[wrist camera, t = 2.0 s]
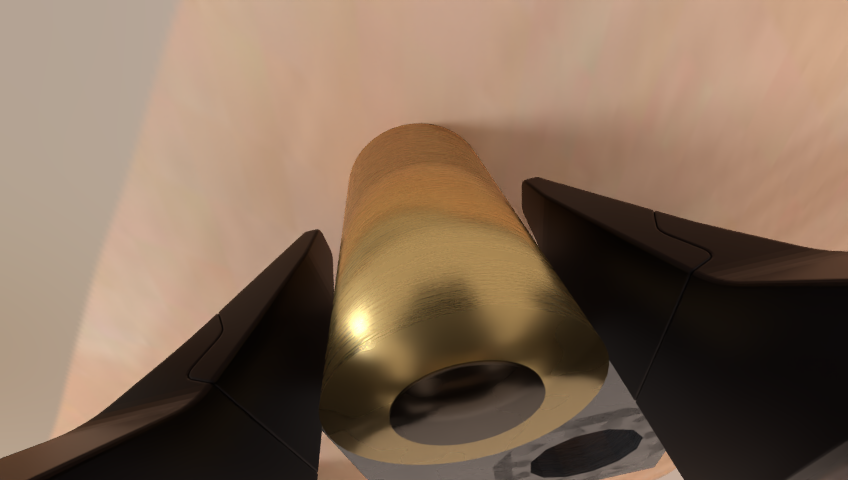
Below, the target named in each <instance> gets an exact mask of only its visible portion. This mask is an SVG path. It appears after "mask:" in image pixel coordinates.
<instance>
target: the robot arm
mask: <svg viewBox="0 0 848 480" xmlns="http://www.w3.org/2000/svg"><path fill="white" fill-rule="evenodd" d="M522 209H523V213H524V215H525V217H526V219H527V222H528V224H529V226H530V228H531V230H532V232H533V235H534V237H535V239H536V241H537V243H538V246H539V248H540V250H541V251H542V253H543V254H544V255H545V257H546V258H547V260H548V261H549V263H550V264H551V266H552V267H553V269H554V270H555V272H556V273H557V275H558V276H559V278H560V279H561V281H562V282H563V284H564V285H565V287H566V288H567V290H568V291H569V292H570V294H571V295H572V297H573V298H574V300H575V301H576V303H577V304H578V306H579V307H580V309H581V310H582V312H583V313H584V315H585V316H586V318H587V319H588V321H589V322H590V324H591V325H592V326H593V328H594V329H595V331H596V332H597V334H598V335H599V337H600V338H601V340H602V341H603V343H604V344H605V346H606V349H607V352H608V354H609V361H610V362H611V364H612V365H613V367H614V369H615V370H616V372H617V373H618V375H619V377H620V378H621V380H622V381H623V383H624V385H625V386H626V388H627V389H628V391H629V393H630V394H631V396H632V397H633V399H634V400H635V401H636V404H637V406H638V407H639V409H640V410H641V412H642V414H643V415H644V417H645V418H646V420H647V422H648V423H649V425H650V426H651V428H652V430H653V431H654V433H655V434H656V436H657V437H658V439H659V441H660V442H661V444H662V445H663V447H664V449H665V450H666V452H667V453H668V455H669V457H670V458H671V460H672V461H673V463H674V465H675V466H676V468H677V469H678V471H679V472H680V474H681V476H682V477H683V479H684V480H848V252H844V251H828V250H820V249H813V248H808V247H802V246H798V245H793V244H789V243H785V242H780V241H776V240H771V239H767V238H763V237H758V236H754V235H749V234H745V233H741V232H736V231H732V230H727V229H723V228H719V227H715V226H711V225H706V224H702V223H698V222H694V221H690V220H687V219H683V218H679V217H676V216H672V215H668V214H665V213H661V212H658V211H655V212H654V211H653V210H651V209H647V208H644V207H640V206H637V205H633V204H630V203H626V202H623V201H619V200H616V199H612V198H609V197H605V196H602V195H598V194H595V193H591V192H588V191H584V190H581V189H577V188H574V187H570V186H567V185H563V184H560V183H556V182H553V181H549V180H546V179H542V178H539V177H535V178H531V179H526V180H524V181H523V182H522ZM333 298H334V281H333V257H332V253H331V250H330V248H329V246H328V244H327V242H326V240H325V238H324V236H323V234H322V232H321V231H320V230H318V229H316V230H312V231H308V232H305V233H304V234H303V235H301V236H300V237H299V238H298V239H297V240H296V241H295V242H294V243H293V244H292V245H291V246H290V247H289V248H287V249H286V250H285V251H284V252H283V253H282V254H281V255H280V256H279V257H278V258H277V259H276V260H274V261H273V262H272V263H271V264H270V265H269V266H268V267H267V268H266V269H265V270H264V271H263V272H262V273H260V274H259V275H258V276H257V277H256V278H255V279H254V280H253V281H252V282H251V283H250V284H249V285H248V286H246V287H245V288H244V289H243V290H242V291H241V292H240V293H239V294H238V295H237V296H236V297H235V298H234V299H232V300H231V301H230V302H229V303H228V304H227V305H226V306H225V307H224V308H223V309H222V310H221V311H220V312H219V314H216V315H215V316H214V317H213V318H212V319H211V320H210V321H209V322H208V323H207V324H205V325H204V326H203V327H202V328H201V329H200V330H199V331H198V332H197V333H195V334H194V335H193V336H192V337H191V338H190V339H189V340H188V341H187V342H185V343H184V344H183V345H182V346H181V347H179V348H178V349H177V350H176V351H175V352H174V353H172V354H171V355H170V356H169V357H168V358H166V359H165V360H164V361H163V362H162V363H160V364H159V365H158V366H157V367H156V368H154V369H153V370H152V371H151V372H150V373H148V374H147V375H146V376H145V377H144V378H142V379H141V380H140V381H139V382H138V383H136V384H135V385H134V386H133V387H132V388H130V389H129V390H128V391H127V392H125V393H124V394H123V395H122V396H121V397H119V398H118V399H117V400H116V401H115V402H113V403H112V404H111V405H110V406H109V407H107V408H106V409H105V410H103V411H102V412H101V413H100V414H98V415H97V416H95V417H94V418H92V419H91V420H89V421H88V422H86V423H84V424H83V425H81V426H79V427H77V428H76V429H74V430H72V431H70V432H68V433H66V434H64V435H62V436H59V437H57V438H54V439H52V440H49V441H46V442H44V443H41V444H38V445H36V446H33V447H30V448H28V449H25V450H22V451H20V452H17V453H14V454H11V455H9V456H6V457H3V458H1V459H0V480H317V478H318V474H317V472H318V465H319V455H320V444H321V434H322V425H321V422H320V418H319V404H320V396H321V389H322V381H323V374H324V366H325V358H326V351H327V343H328V336H329V328H330V321H331V313H332V306H333Z"/></svg>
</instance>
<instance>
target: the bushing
mask: <svg viewBox="0 0 848 480" xmlns="http://www.w3.org/2000/svg"><path fill="white" fill-rule="evenodd" d="M608 369H609V354H608V352H607V349H606V346H605V344H604V343H603V341H602V340H601V338H600V337H599V335H598V334H597V332H596V331H595V329H594V328H593V326H592V325H591V324H590V322H589V321H588V319H587V318H586V316H585V315H584V313H583V312H582V310H581V309H580V307H579V306H578V304H577V303H576V301H575V300H574V298H573V297H572V295H571V294H570V292H569V291H568V290H567V288H566V287H565V285H564V284H563V282H562V281H561V279H560V278H559V276H558V275H557V273H556V272H555V270H554V269H553V267H552V266H551V264H550V263H549V261H548V260H547V258H546V257H545V255H544V254H543V253H542V251H541V250H540V248H539V247H538V245H537V244H536V242H535V241H534V239H533V238H532V236H531V235H530V233H529V232H528V230H527V229H526V227H525V226H524V224H523V223H522V221H521V220H520V219H519V217H518V216H517V214H516V213H515V211H514V210H513V208H512V207H511V205H510V204H509V202H508V201H507V199H506V198H505V196H504V195H503V193H502V192H501V190H500V189H499V187H498V186H497V184H496V183H495V182H494V180H493V179H492V177H491V176H490V174H489V173H488V171H487V170H486V168H485V167H484V165H483V164H482V162H481V161H480V159H479V158H478V156H477V155H476V153H475V152H474V151H473V149H472V148H471V146H470V145H469V144H468V143H467V142H466V141H465V140H464V139H462V138H461V137H460V136H459V135H457V134H455V133H454V132H452V131H450V130H448V129H445V128H443V127H440V126H436V125H432V124H422V123H421V124H408V125H402V126H399V127H396V128H392V129H390V130H388V131H386V132H384V133H382V134H380V135H379V136H377V137H376V138H374V139H373V140H372V141H371V142H370V143H369V144H367V146H366V147H365V148H364V149H363V150H362V151H361V153H360V154H359V156H358V157H357V159H356V161H355V163H354V165H353V167H352V170H351V174H350V179H349V186H348V193H347V201H346V208H345V216H344V223H343V231H342V238H341V246H340V253H339V261H338V268H337V276H336V283H335V291H334V298H333V306H332V313H331V321H330V328H329V336H328V343H327V351H326V358H325V366H324V374H323V381H322V389H321V396H320V404H319V418H320V422H321V425H322V427H323V430H324V431H325V432H326V434H327V435H328V436H329V438H331V439H332V440H333V441H334V442H335V443H336V444H337V445H339V446H341V447H342V448H344V449H345V450H347V451H349V452H351V453H354V454H356V455H358V456H362V457H365V458H368V459H372V460H376V461H380V462H387V463H394V464H406V465H431V464H445V463H454V462H460V461H467V460H472V459H477V458H481V457H485V456H489V455H493V454H497V453H500V452H503V451H507V450H510V449H512V448H515V447H518V446H521V445H523V444H526V443H528V442H530V441H533V440H535V439H537V438H539V437H541V436H543V435H545V434H547V433H549V432H551V431H553V430H554V429H556V428H558V427H560V426H561V425H563V424H564V423H566V422H567V421H569V420H570V419H572V418H573V417H574V416H575V415H577V414H578V413H579V412H580V411H582V410H583V409H584V408H585V407H586V406H587V405H588V404H589V403H590V402H591V401H592V400H593V398H594V397H595V396H596V395H597V394H598V392H599V391H600V389H601V387H602V386H603V384H604V382H605V379H606V377H607V374H608Z"/></svg>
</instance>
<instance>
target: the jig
mask: <svg viewBox="0 0 848 480" xmlns="http://www.w3.org/2000/svg"><path fill="white" fill-rule="evenodd" d="M322 431H323V432H324V433H325V434H326V432H325V431H324V430H323V427H322ZM326 435H327V434H326ZM327 436H328V435H327ZM328 437H329V436H328ZM330 440H331V441H332V442H333V443H334V444H335V445H336V446H337V447H338V448H339V449H340V450H341V451H342V452H343V454H344V455H345V456H346V457H347V458H348V459H349V460H350V461H351V462H352V463H353V464H354V465H355V466H356V468H357V469H358V470H359V471H360V472H361V473H362V474H363V475H364V476H365V477H366V478H367V479H368V480H599V479H604V478H608V477H613V476H617V475H622V474H626V473H631V472H635V471H640V470H644V469H649V468H653V467H655V465H656V464H657V463H658V461H659V460H660V458H661V457H662V455H663V454H664V452H665V451H666V450H665V449H664V447H663V445H662V444H661V442H660V441H659V439H658V437H657V436H656V434H655V433H654V431H653V430H652V428H651V426H650V425H649V423H648V422H647V420H646V418H645V417H644V415H643V414H642V412H641V410H640V409H639V407H638V406H637V404H636V401H635V400H634V399H633V397H632V396H631V394H630V393H629V391H628V389H627V388H626V386H625V385H624V383H623V381H622V380H621V378H620V377H619V375H618V373H617V372H616V370H615V369H614V367H613V365H612V364H611V362H610V361H609V369H608V374H607V377H606V379H605V382H604V384H603V386H602V387H601V389H600V391H599V392H598V394H597V395H596V396H595V397H594V398H593V400H592V401H591V402H590V403H589V404H588V405H587V406H586V407H585V408H584V409H583V410H582V411H580V412H579V413H578V414H577V415H575V416H574V417H573V418H572V419H570V420H569V421H567V422H566V423H564V424H563V425H561V426H560V427H558V428H556V429H554V430H553V431H551V432H549V433H547V434H545V435H543V436H541V437H539V438H537V439H535V440H533V441H530V442H528V443H526V444H523V445H521V446H518V447H515V448H512V449H510V450H507V451H503V452H500V453H497V454H493V455H489V456H485V457H481V458H477V459H472V460H467V461H460V462H454V463H445V464H431V465H406V464H394V463H387V462H380V461H376V460H372V459H368V458H365V457H362V456H358V455H356V454H354V453H351V452H349V451H347V450H345V449H344V448H342V447H341V446H339V445H337V444H336V443H335V442H334V441H333V440H332V439H331V438H330Z"/></svg>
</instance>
